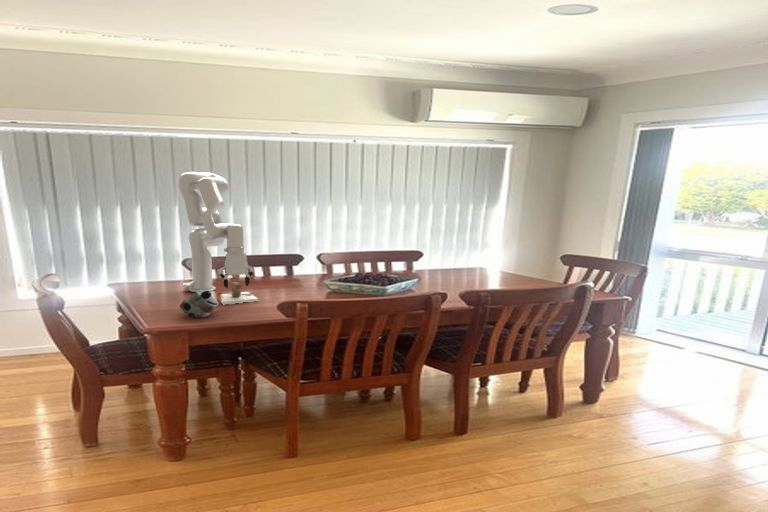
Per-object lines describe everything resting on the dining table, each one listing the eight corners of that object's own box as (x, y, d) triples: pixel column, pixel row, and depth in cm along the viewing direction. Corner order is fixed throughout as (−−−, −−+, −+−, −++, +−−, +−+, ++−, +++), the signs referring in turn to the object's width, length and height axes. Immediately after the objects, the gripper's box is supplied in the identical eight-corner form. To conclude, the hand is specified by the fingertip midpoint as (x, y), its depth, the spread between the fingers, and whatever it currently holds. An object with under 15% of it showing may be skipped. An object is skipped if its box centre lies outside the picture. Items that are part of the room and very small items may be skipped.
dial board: (223, 305, 232) (222, 301, 231) (215, 297, 245) (215, 294, 245) (257, 301, 240) (257, 298, 239) (248, 294, 253) (248, 291, 253)
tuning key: (233, 297, 238) (233, 284, 237) (230, 294, 244) (229, 282, 243) (254, 295, 243) (254, 283, 242) (250, 293, 249) (250, 280, 248)
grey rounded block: (205, 308, 224) (219, 282, 222) (217, 324, 217) (231, 297, 214) (174, 304, 212) (188, 276, 210) (185, 321, 205) (200, 292, 203)
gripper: (218, 252, 231) (219, 289, 234) (256, 250, 240) (257, 286, 242) (214, 250, 238) (216, 286, 240) (251, 248, 246) (252, 283, 249)
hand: (236, 286), depth 241 cm, fingers open, 9 cm apart
